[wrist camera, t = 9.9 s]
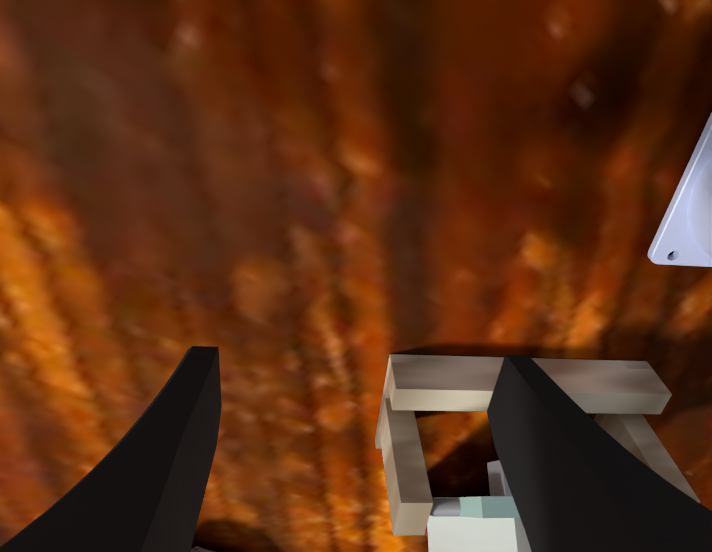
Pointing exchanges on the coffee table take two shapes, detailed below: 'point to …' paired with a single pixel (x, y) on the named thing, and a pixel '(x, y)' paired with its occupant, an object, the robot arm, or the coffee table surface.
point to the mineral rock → (200, 549)
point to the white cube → (476, 534)
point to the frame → (473, 393)
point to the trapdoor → (480, 500)
